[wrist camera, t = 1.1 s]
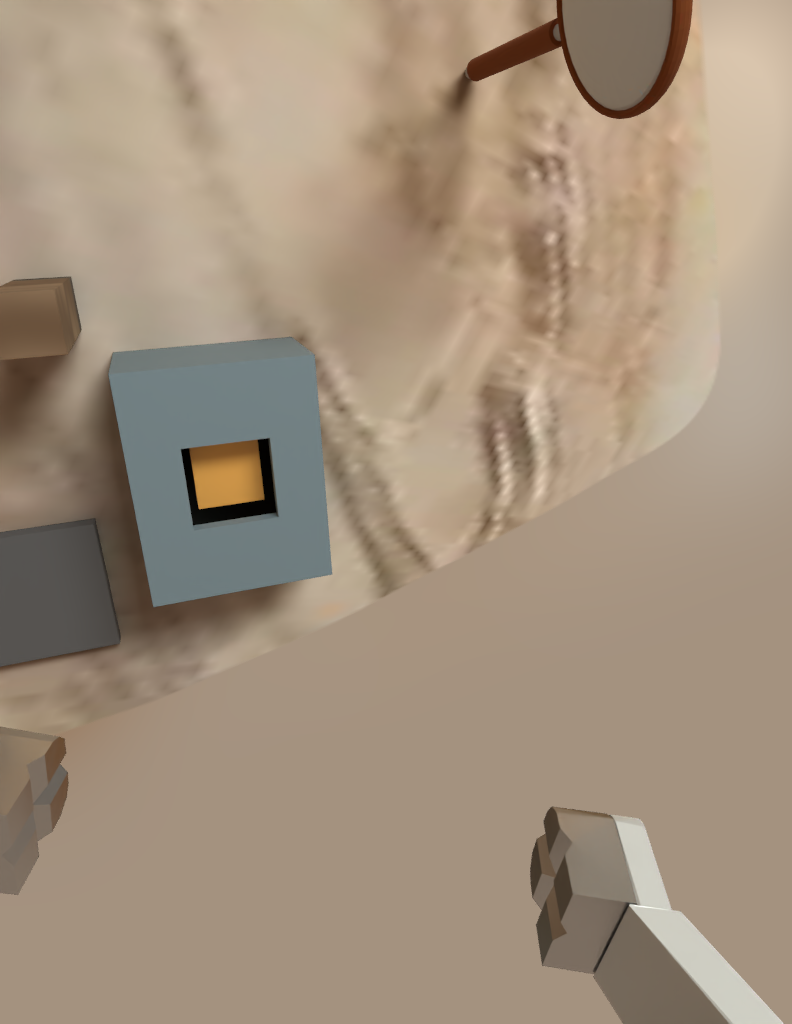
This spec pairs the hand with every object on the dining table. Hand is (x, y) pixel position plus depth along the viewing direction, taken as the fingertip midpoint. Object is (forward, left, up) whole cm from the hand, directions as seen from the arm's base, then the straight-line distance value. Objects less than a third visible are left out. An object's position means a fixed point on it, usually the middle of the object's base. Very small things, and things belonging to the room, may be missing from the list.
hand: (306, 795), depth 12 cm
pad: (+13, -12, -38) cm, 42 cm away
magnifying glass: (-17, +19, -38) cm, 46 cm away
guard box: (+5, +1, -38) cm, 38 cm away
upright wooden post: (-5, -7, -38) cm, 39 cm away
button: (+5, +1, -35) cm, 36 cm away
